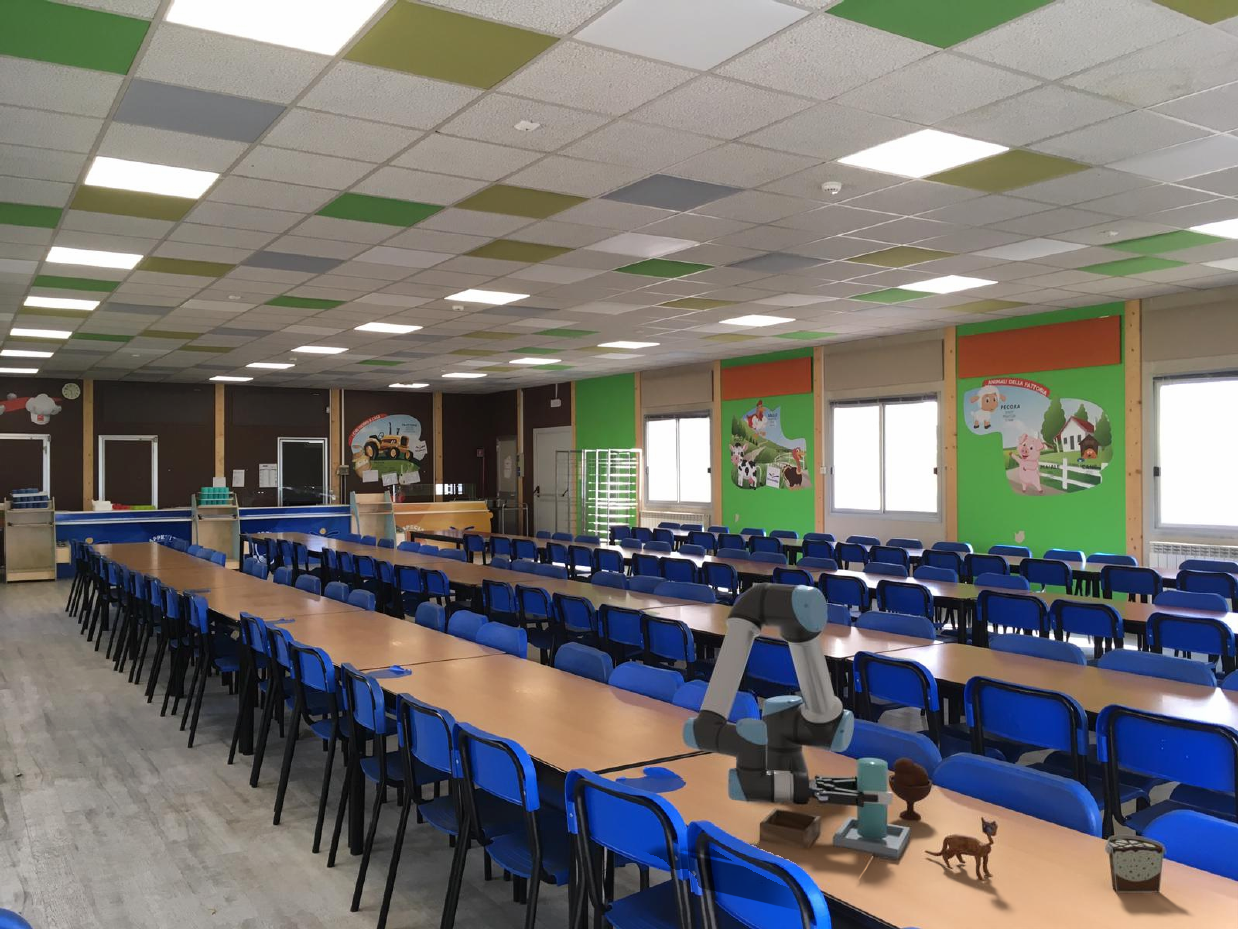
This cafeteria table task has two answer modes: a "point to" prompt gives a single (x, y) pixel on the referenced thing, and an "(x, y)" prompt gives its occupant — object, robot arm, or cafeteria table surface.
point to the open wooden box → (790, 828)
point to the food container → (1135, 863)
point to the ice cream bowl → (910, 785)
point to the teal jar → (872, 815)
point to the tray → (873, 840)
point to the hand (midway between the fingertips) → (889, 792)
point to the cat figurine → (969, 847)
